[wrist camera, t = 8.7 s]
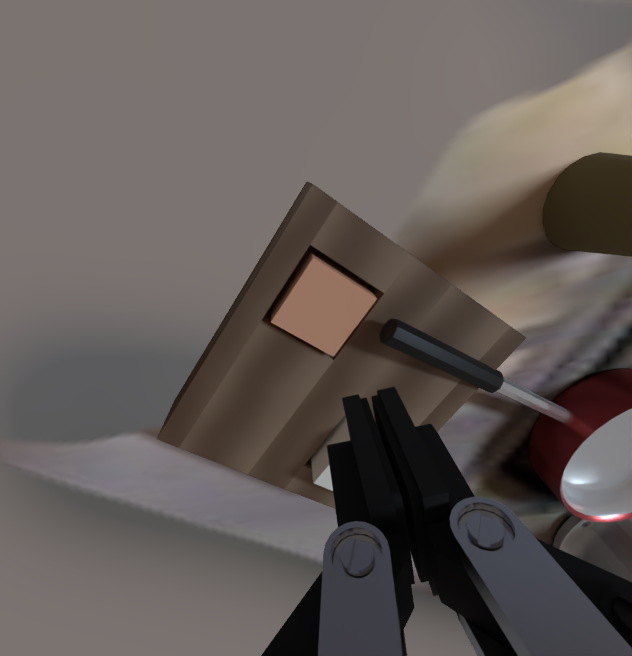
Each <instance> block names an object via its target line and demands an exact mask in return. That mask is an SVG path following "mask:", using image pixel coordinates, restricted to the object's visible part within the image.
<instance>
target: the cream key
mask: <svg viewBox="0 0 632 656" xmlns="http://www.w3.org/2000/svg"><path fill="white" fill-rule="evenodd" d="M349 440H350V436H349V431H348V426H347V421H346V416H344V417H343V418H342V419H341V421H340V422H339V423H338V424H337V426H336V427H335V428H334V429H333V430H332V432H331V433H330V434H329V435H328V437H327V438H326V439H325V440H324V441H323V443H322V444H321V445H320V446H319V448H318V449H317V450H316V451H315V452H314V454H313V455H312V456H311V465H312V474H313V483H314V484H317V485H319V486H322V487H324V488H326V489H329V490H331V491H333V487H332V480H331V473H330V466H329V459H328V452H327V445H330V444H335V443H340V442H344V441H349Z"/></svg>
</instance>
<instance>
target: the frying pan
mask: <svg viewBox="0 0 632 656" xmlns="http://www.w3.org/2000/svg"><path fill="white" fill-rule="evenodd" d="M380 342H381V343H382V344H385V345H387V346H389V347H391V348H393V349H396V350H398V351H400V352H402V353H404V354H406V355H409V356H411V357H413V358H415V359H417V360H420V361H422V362H424V363H426V364H428V365H430V366H433V367H435V368H437V369H439V370H441V371H444V372H446V373H448V374H450V375H452V376H455V377H457V378H459V379H461V380H463V381H465V382H468V383H470V384H472V385H474V386H476V387H479V388H481V389H483V390H485V391H487V392H491V393H493V392H497V393H500V394H502V395H504V396H506V397H508V398H510V399H512V400H515V401H517V402H519V403H521V404H523V405H525V406H527V407H530V408H532V409H534V410H536V411H538V412H540V413H542V414H541V416H540V417H539V419H538V420H537V422H536V424H535V426H534V428H533V430H532V433H531V436H530V440H529V453H528V454H529V458H530V462H531V465H532V467H533V468H534V470H535V471H536V473H537V475H538V476H539V477H540V478H541V479H542V480H543V482H544V483H545V484H546V485H547V486H548V487H549V489H550V490H551V491H552V492H553V493H554V495H555V496H556V497H557V498H558V499H559V500H560V502H561V503H562V504H563V505H564V506H565V507H566V509H567V510H568V511H570V512H571V513H572V514H573V515H574V516H577V517H579V518H581V519H583V520H588V521H593V522H615V521H622V520H626V519H630V518H632V369H631V368H627V369H616V370H610V371H606V372H602V373H599V374H596V375H594V376H591V377H589V378H586V379H584V380H582V381H580V382H579V383H577V384H575V385H573V386H572V387H570V388H568V389H567V390H566V391H565V392H563V393H562V394H561V395H559V396H558V397H557V398H556V399H555V400H554V401H553V402H551V401H549V400H547V399H545V398H543V397H541V396H539V395H537V394H535V393H533V392H531V391H529V390H527V389H525V388H523V387H521V386H519V385H517V384H515V383H513V382H511V381H509V380H507V379H506V378H504V377H503V375H502V373H501V372H500V371H498V370H494V369H492V368H491V367H490V366H488V365H486V364H484V363H482V362H480V361H478V360H476V359H474V358H472V357H471V356H469V355H467V354H465V353H463V352H461V351H459V350H457V349H455V348H453V347H451V346H449V345H447V344H445V343H443V342H441V341H439V340H437V339H435V338H434V337H432V336H430V335H428V334H426V333H424V332H422V331H420V330H418V329H416V328H414V327H412V326H410V325H408V324H406V323H404V322H402V321H400V320H398V319H390V320H388V321H387V322H386V323H385V324H384V325H383V327H382V329H381V332H380Z"/></svg>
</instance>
